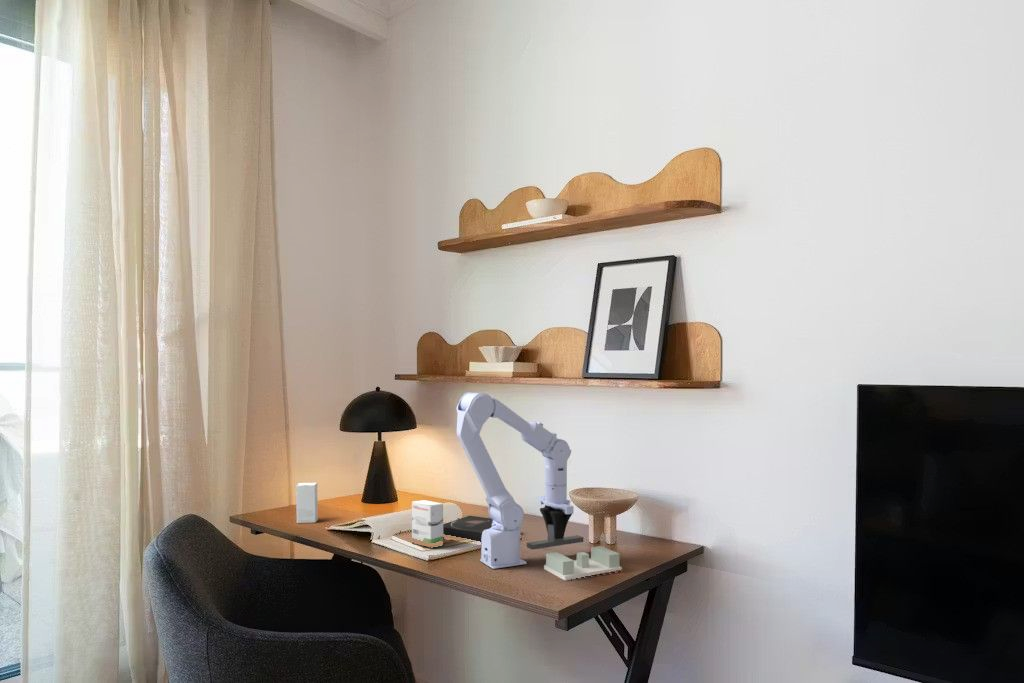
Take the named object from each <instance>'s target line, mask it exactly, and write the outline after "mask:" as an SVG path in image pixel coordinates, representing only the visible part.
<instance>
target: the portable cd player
mask: <svg viewBox="0 0 1024 683" xmlns="http://www.w3.org/2000/svg"><path fill="white" fill-rule="evenodd" d="M492 522H493V519H492V518H491V517H483V516H477V515H467V516H463V517H461V518H459V519H454V520H452V521H449V522H446V523H443V534H445V535H451V536H456V537H461V538H467V539H471V540H476V541H480V542H481V538H482V533H483V531H484V530H486V529H490V528H491V527H492Z"/></svg>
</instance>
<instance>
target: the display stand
mask: <svg viewBox="0 0 1024 683" xmlns="http://www.w3.org/2000/svg"><path fill="white" fill-rule="evenodd" d="M543 569H544V570H545V571H546V572H548V573H551V575H554V576H556V577H558V578H559V579H561V580H563V581H564V582H565V581H571V579H572V580H577V579H576V578H578V579H582V578H581V577H584V578H586V577H585V576H591V575H595V574H600V573H605V572H611V571H616V570H621V569H622V570H623V567H622V566H621V565H620V553H619V552H616V551H614V550H611V549H609V548H608V547H605V546H602V545H598V546H591V547H590V554H589V553H588V552H584V551H582V552H576V559H575V560H574V559H571V558H569V557H568V556H566V555H563V554H562V553H559V552H558V551H556V552H555V551H554V552H549V553H548V552H547V553H545V564H544V565H543ZM591 577H592V576H591Z"/></svg>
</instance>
